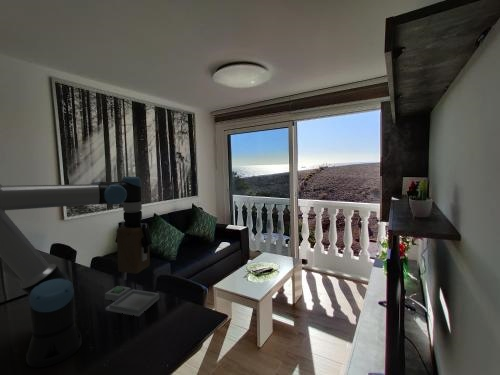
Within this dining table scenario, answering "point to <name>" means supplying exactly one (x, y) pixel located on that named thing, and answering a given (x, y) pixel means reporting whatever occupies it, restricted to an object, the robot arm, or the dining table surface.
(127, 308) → the shallow gray rectangular tray
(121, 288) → the button
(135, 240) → the wooden block
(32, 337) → the robot arm
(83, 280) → the dining table surface
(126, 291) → the button housing
